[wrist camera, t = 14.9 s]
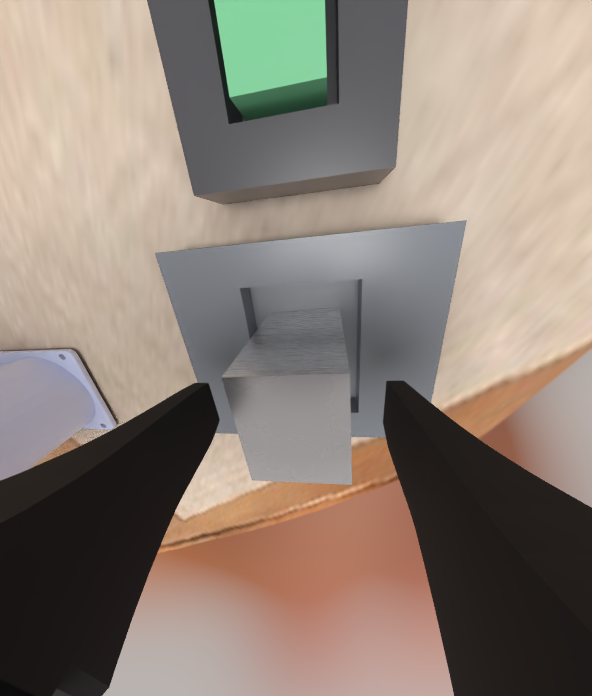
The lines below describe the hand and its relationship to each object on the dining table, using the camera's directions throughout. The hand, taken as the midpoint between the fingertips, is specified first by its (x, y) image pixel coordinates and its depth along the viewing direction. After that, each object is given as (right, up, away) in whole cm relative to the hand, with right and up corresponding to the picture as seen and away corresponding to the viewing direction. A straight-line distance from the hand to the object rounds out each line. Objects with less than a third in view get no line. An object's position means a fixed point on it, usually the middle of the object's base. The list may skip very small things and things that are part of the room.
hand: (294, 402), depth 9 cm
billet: (+1, +2, +5) cm, 5 cm away
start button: (0, +13, -1) cm, 13 cm away
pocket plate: (+1, +3, +6) cm, 6 cm away
